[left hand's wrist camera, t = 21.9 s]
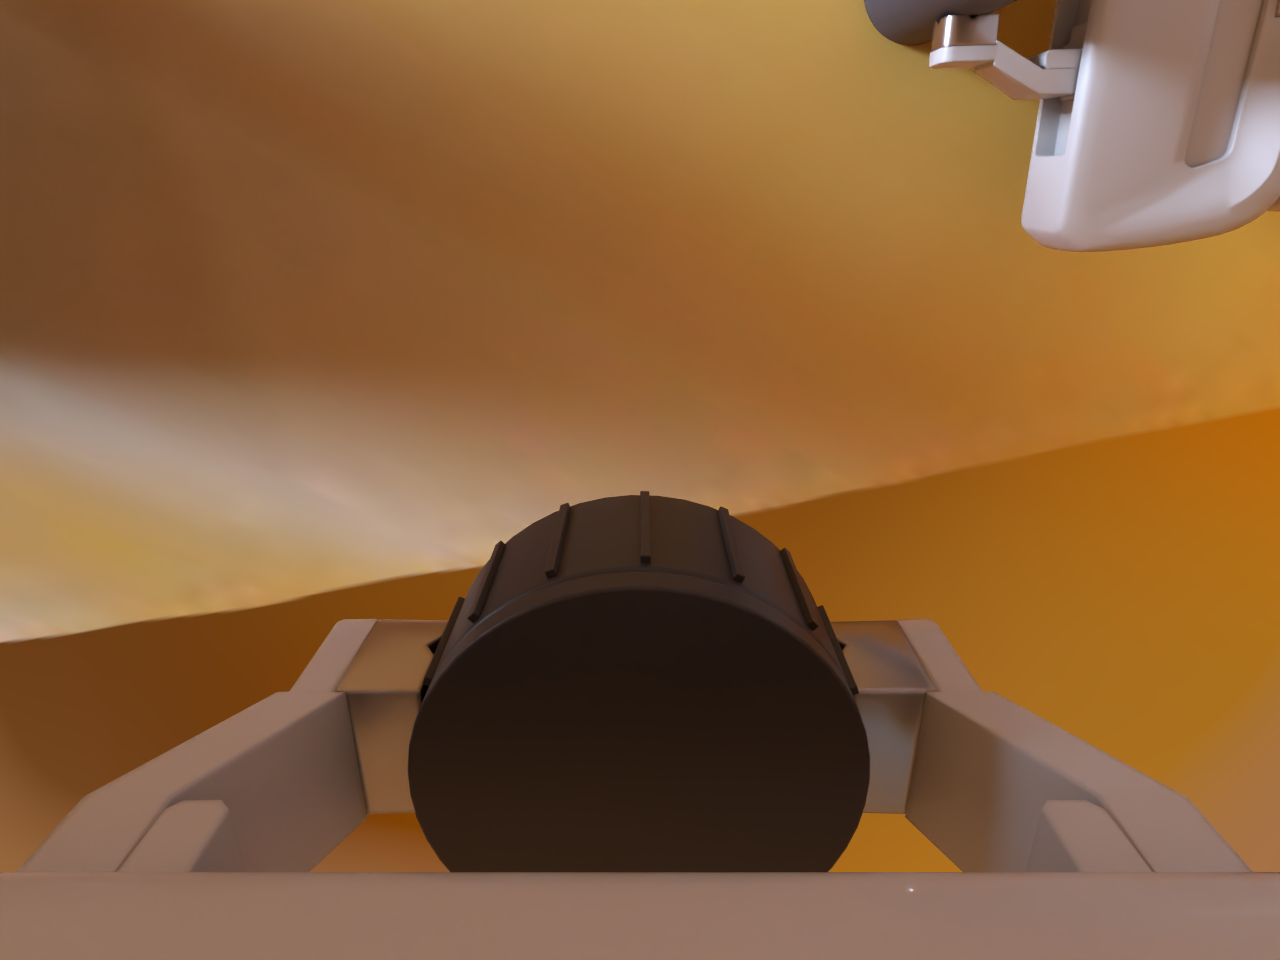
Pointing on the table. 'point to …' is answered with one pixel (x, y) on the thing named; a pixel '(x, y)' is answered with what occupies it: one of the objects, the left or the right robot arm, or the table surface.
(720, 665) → the lid
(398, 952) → the left robot arm
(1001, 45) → the right robot arm
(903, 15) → the dark grey cylinder
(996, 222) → the table surface
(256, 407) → the table surface
